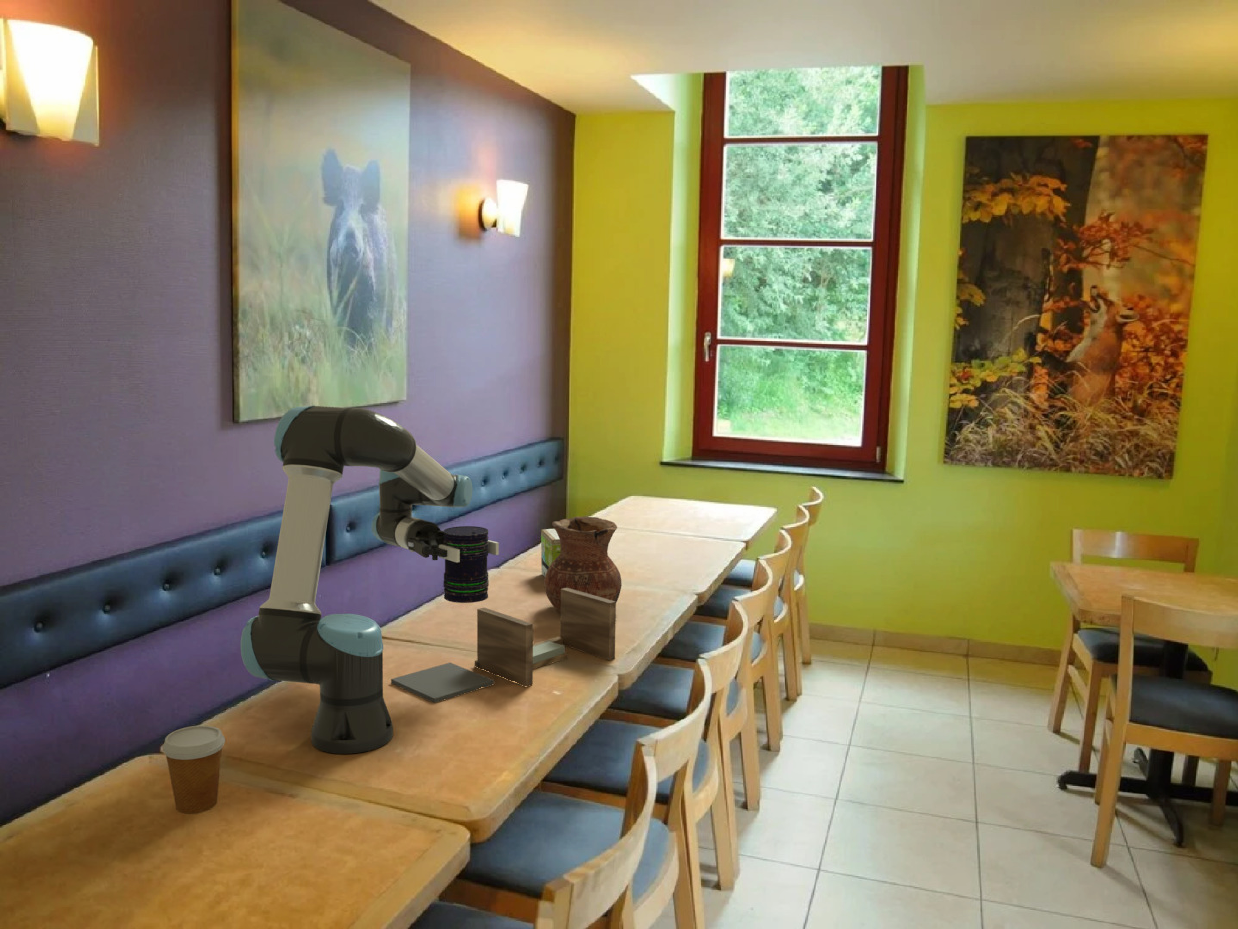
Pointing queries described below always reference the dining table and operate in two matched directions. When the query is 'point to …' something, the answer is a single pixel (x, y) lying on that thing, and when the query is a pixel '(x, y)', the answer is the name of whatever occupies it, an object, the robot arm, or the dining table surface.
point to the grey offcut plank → (547, 651)
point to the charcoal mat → (442, 682)
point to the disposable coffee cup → (194, 766)
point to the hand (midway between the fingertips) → (478, 552)
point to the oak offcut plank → (550, 660)
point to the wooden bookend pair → (512, 645)
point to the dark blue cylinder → (467, 565)
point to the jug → (583, 560)
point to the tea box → (549, 548)
